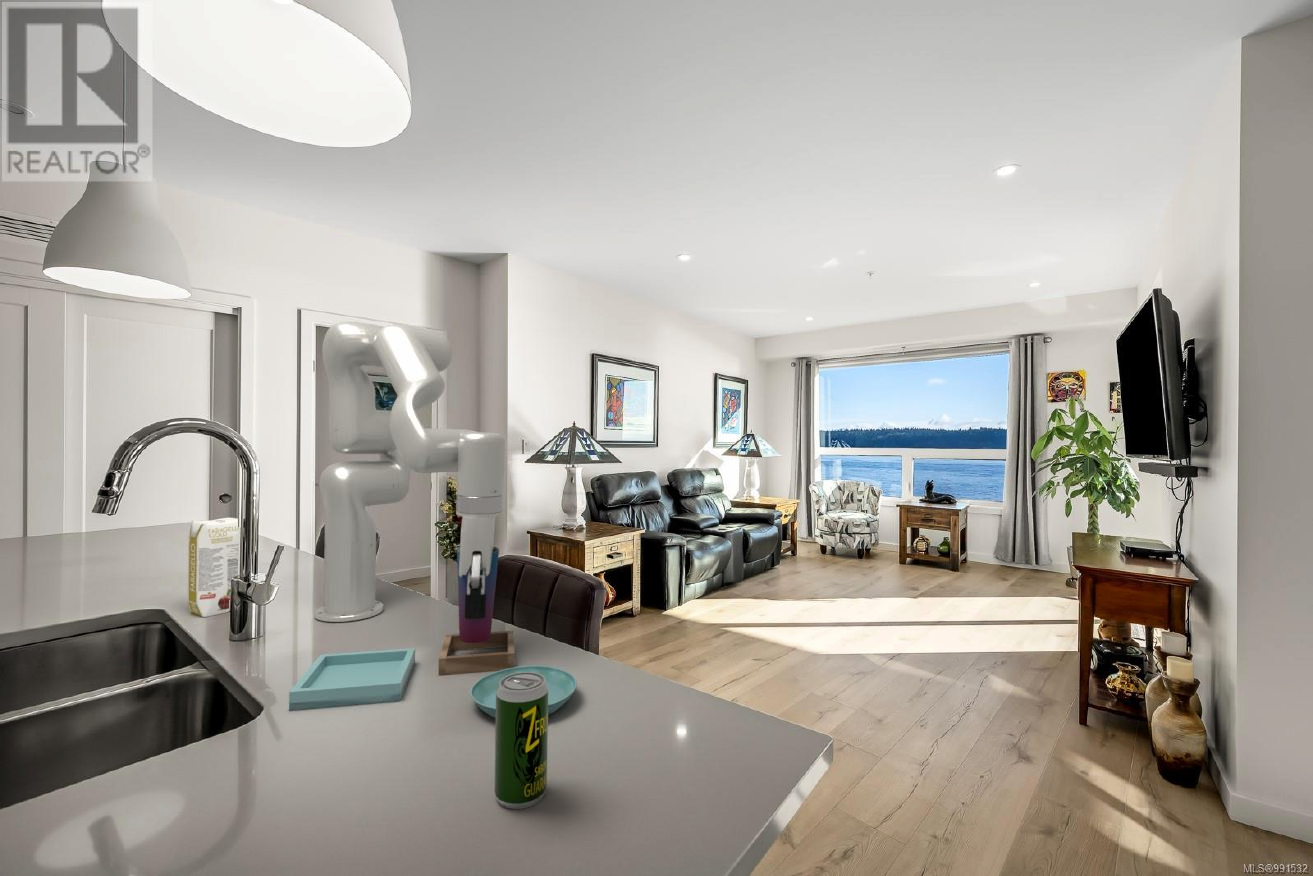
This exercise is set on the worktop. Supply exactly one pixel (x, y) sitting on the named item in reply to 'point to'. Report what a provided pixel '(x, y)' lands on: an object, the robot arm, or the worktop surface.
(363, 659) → the tray
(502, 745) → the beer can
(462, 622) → the cup
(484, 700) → the saucer
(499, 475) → the robot arm
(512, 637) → the holder
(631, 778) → the worktop surface
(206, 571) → the juice carton
